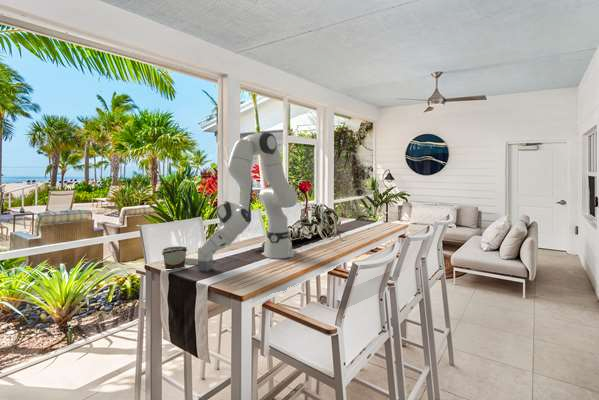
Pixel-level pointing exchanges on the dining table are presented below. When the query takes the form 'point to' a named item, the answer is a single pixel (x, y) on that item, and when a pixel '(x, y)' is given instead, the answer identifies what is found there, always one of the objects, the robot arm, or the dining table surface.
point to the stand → (192, 259)
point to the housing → (205, 261)
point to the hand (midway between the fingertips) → (206, 255)
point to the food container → (174, 257)
